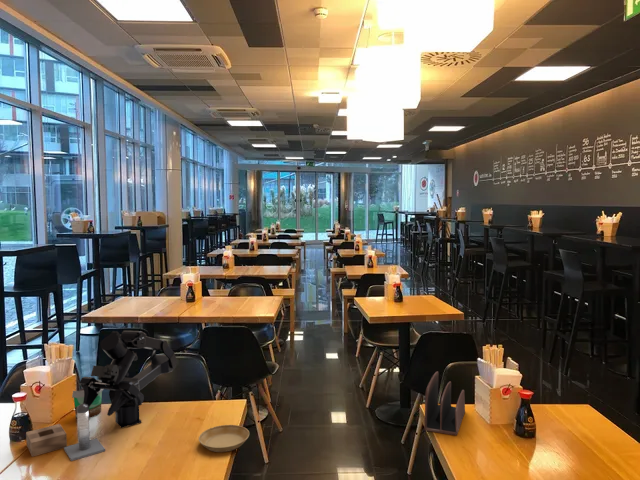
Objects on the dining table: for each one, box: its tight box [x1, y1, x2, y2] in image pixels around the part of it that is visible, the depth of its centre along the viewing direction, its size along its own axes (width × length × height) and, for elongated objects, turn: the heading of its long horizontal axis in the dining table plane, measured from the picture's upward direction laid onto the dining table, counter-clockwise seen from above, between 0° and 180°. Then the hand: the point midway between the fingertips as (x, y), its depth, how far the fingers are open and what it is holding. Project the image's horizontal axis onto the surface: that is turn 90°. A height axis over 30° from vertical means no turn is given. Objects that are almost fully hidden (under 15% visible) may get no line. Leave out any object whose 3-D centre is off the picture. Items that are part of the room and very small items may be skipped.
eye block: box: [25, 423, 68, 458], centre depth 146 cm, size 9×9×4 cm
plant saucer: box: [198, 424, 250, 453], centre depth 146 cm, size 15×15×3 cm
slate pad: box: [63, 438, 106, 462], centre depth 143 cm, size 9×9×1 cm
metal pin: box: [77, 403, 91, 450], centre depth 143 cm, size 3×3×13 cm
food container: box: [71, 379, 105, 420], centre depth 169 cm, size 12×6×10 cm, turn 168°
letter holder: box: [423, 371, 466, 436], centre depth 160 cm, size 10×20×14 cm, turn 157°
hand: (95, 413), depth 148 cm, fingers open, 9 cm apart
